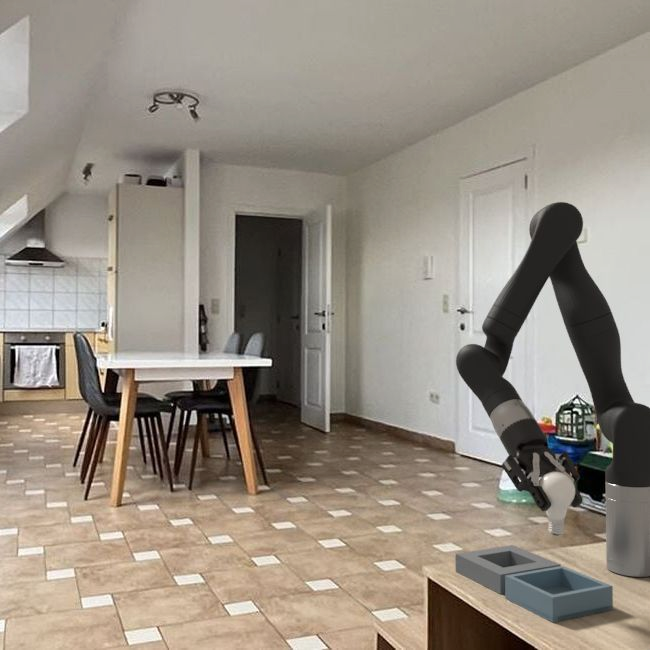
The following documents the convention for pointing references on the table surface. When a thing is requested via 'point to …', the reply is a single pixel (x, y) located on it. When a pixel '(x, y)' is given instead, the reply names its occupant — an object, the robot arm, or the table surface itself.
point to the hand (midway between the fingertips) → (563, 506)
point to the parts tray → (558, 593)
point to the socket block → (499, 565)
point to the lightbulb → (557, 499)
